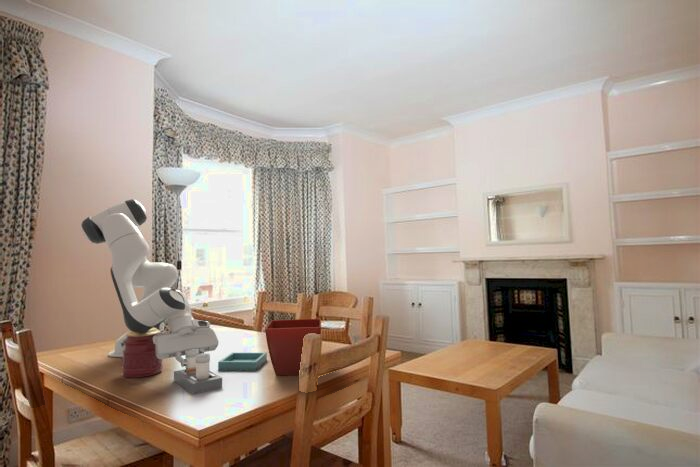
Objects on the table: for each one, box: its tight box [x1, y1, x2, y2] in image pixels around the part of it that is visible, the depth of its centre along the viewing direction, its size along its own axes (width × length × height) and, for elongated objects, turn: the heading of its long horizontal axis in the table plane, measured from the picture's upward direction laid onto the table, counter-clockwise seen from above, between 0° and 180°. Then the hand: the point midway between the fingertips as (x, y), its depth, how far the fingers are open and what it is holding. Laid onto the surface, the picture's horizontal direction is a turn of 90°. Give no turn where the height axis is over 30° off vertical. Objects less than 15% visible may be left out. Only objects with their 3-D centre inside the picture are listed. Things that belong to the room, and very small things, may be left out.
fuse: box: [196, 352, 211, 381], centre depth 126 cm, size 4×4×10 cm
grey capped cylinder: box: [184, 348, 199, 375], centre depth 133 cm, size 4×4×10 cm
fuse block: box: [173, 368, 223, 395], centre depth 129 cm, size 18×9×3 cm, turn 41°
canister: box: [121, 328, 164, 379], centre depth 142 cm, size 13×13×18 cm
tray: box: [217, 352, 268, 372], centre depth 151 cm, size 14×14×3 cm
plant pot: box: [264, 318, 322, 376], centre depth 144 cm, size 19×19×17 cm
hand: (193, 363), depth 132 cm, fingers closed on grey capped cylinder, 4 cm apart
